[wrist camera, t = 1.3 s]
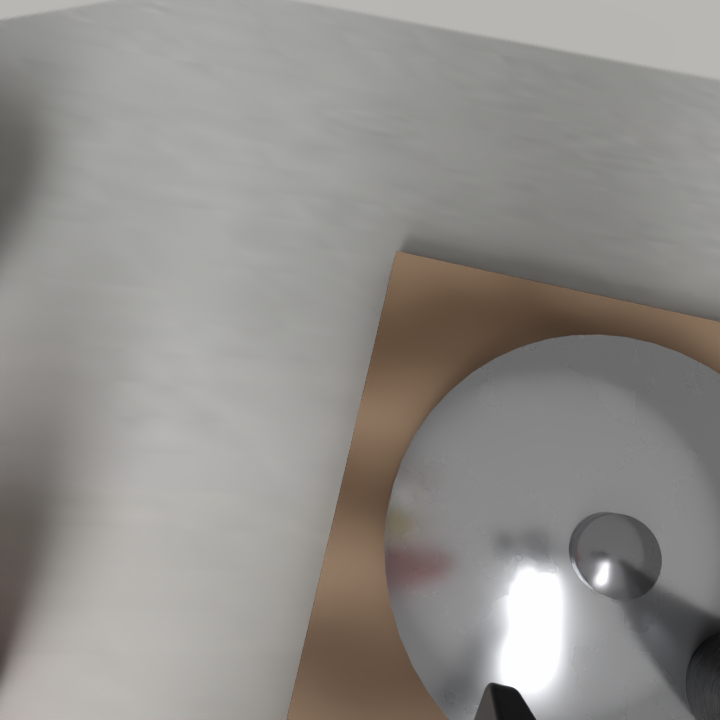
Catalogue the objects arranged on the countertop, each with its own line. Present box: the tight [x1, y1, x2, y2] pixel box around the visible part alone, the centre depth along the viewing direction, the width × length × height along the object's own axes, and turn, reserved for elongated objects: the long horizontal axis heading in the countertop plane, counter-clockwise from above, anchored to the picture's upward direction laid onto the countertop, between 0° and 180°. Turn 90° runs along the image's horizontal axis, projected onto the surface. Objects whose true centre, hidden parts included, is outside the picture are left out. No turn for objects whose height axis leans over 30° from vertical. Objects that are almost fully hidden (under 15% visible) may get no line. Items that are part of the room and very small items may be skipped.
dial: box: [384, 335, 720, 720], centre depth 17 cm, size 17×17×11 cm
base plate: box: [287, 251, 720, 720], centre depth 23 cm, size 21×21×2 cm
